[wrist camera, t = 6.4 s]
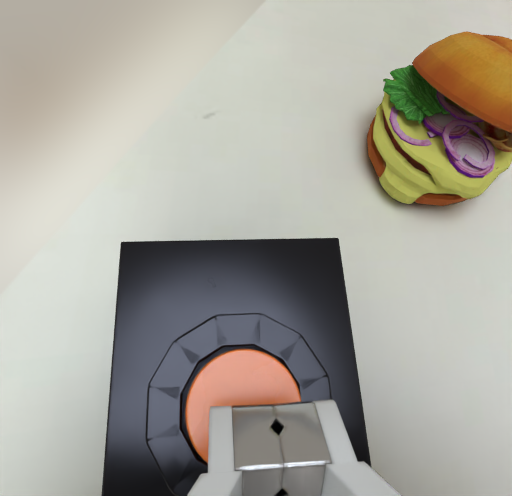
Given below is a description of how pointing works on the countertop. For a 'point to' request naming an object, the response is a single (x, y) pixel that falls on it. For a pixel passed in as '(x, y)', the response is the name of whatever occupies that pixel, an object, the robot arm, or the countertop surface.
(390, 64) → the countertop surface
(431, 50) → the cheeseburger
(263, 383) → the orange button cap
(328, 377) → the black push button box
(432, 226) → the countertop surface
